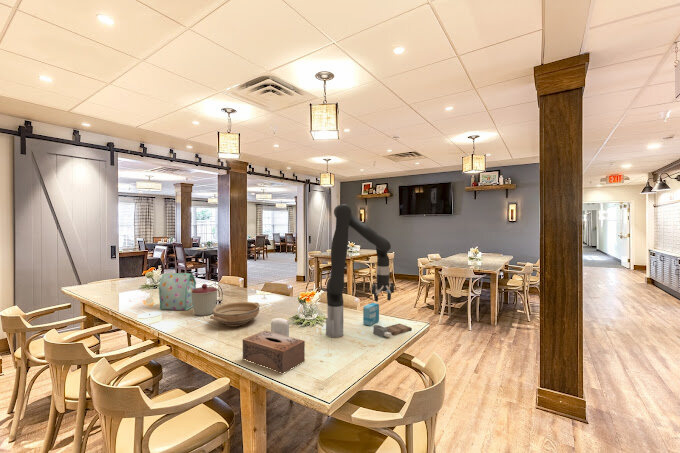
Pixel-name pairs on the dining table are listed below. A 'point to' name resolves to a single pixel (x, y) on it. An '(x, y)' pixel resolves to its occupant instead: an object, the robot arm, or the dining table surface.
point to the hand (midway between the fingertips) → (382, 300)
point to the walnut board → (398, 329)
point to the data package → (371, 314)
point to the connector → (381, 331)
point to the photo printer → (280, 326)
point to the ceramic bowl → (235, 313)
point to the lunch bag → (176, 291)
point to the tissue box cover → (274, 350)
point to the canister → (204, 300)
